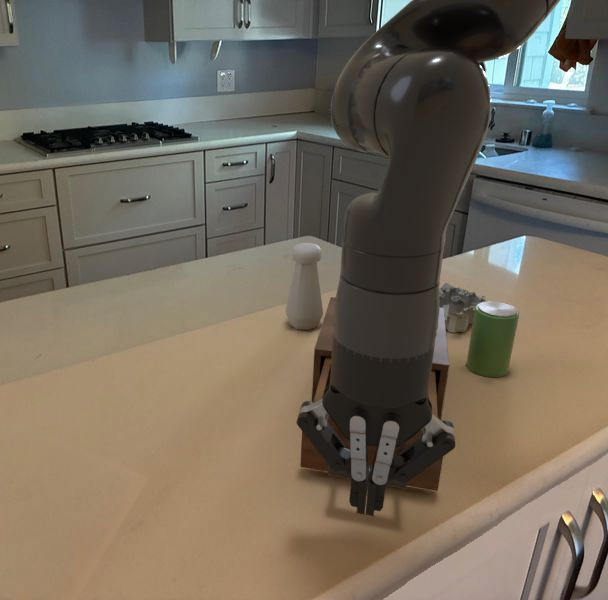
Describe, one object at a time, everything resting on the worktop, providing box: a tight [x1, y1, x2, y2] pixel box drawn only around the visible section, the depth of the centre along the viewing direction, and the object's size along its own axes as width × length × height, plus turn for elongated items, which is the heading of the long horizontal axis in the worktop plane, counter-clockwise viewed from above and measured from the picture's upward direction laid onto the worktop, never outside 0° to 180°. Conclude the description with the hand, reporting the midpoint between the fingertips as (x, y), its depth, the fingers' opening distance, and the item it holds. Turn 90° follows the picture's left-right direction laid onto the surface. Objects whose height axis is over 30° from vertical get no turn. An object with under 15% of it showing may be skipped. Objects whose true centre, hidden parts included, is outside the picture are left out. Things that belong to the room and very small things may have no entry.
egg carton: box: [439, 282, 487, 334], centre depth 96 cm, size 11×8×4 cm
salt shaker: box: [285, 242, 324, 331], centre depth 94 cm, size 6×6×13 cm
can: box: [465, 300, 520, 378], centre depth 81 cm, size 5×5×9 cm
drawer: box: [299, 356, 444, 492], centre depth 64 cm, size 19×13×7 cm
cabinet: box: [311, 296, 450, 421], centre depth 77 cm, size 16×15×9 cm
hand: (366, 508), depth 54 cm, fingers closed
